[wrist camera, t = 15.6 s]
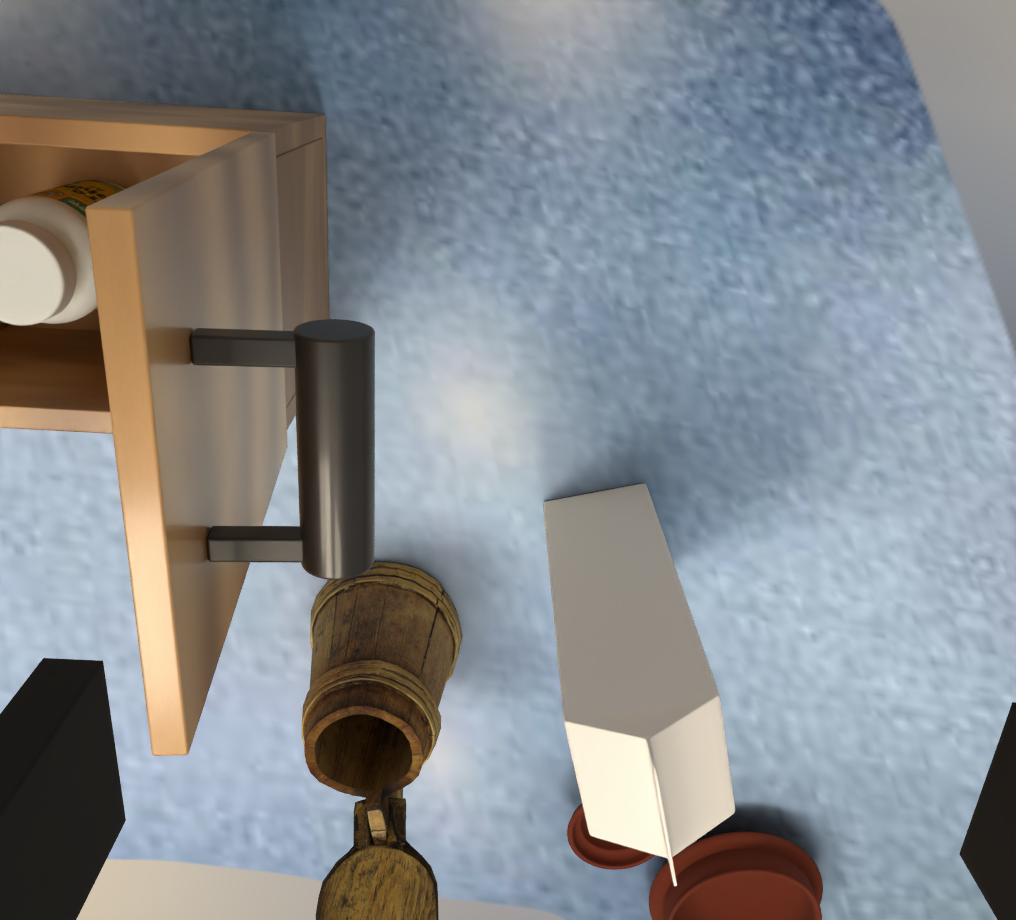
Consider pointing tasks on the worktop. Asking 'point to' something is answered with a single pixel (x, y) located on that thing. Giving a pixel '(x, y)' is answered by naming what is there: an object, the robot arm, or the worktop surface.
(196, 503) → the chest lid
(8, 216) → the supplement bottle
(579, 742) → the milk
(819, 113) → the worktop surface
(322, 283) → the chest
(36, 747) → the robot arm
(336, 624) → the wooden mug
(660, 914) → the pottery
